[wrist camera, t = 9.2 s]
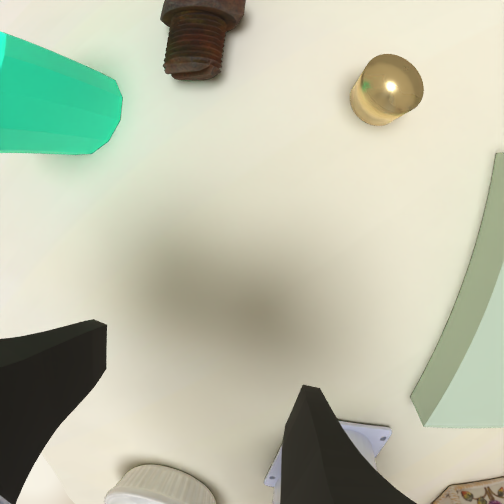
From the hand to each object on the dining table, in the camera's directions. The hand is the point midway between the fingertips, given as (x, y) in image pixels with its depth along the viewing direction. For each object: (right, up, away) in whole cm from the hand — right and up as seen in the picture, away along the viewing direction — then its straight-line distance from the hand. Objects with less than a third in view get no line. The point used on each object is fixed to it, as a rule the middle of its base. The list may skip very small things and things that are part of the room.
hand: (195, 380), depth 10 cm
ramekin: (-6, -20, +15) cm, 26 cm away
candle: (-9, +14, +8) cm, 18 cm away
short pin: (+9, +13, +6) cm, 17 cm away
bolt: (0, +22, +5) cm, 22 cm away
